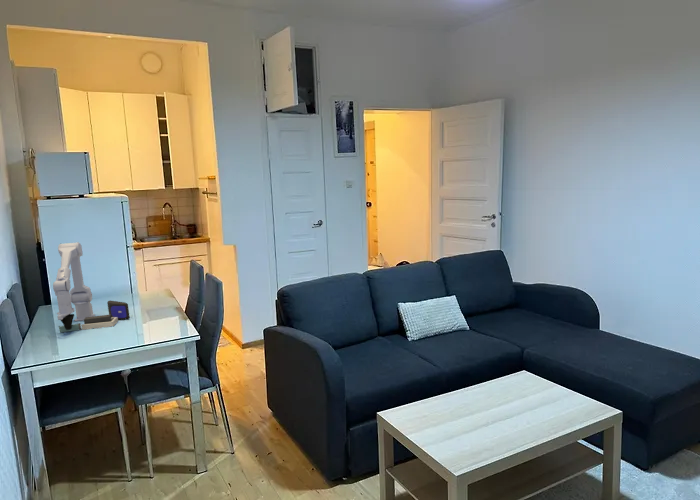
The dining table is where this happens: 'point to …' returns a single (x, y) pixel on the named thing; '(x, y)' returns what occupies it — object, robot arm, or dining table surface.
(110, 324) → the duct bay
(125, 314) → the leaning round-cornered charcoal block
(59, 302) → the robot arm
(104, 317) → the dark brown rectangular block
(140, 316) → the dining table surface
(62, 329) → the sage green post
